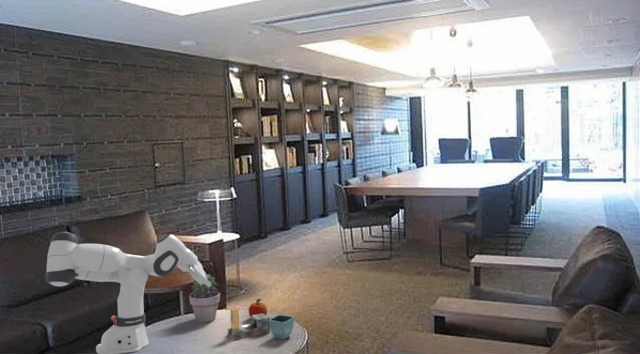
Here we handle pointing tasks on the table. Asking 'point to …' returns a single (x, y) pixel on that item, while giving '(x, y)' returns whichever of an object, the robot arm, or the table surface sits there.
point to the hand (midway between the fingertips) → (208, 281)
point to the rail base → (259, 327)
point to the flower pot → (281, 326)
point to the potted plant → (205, 300)
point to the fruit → (257, 308)
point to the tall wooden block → (235, 321)
